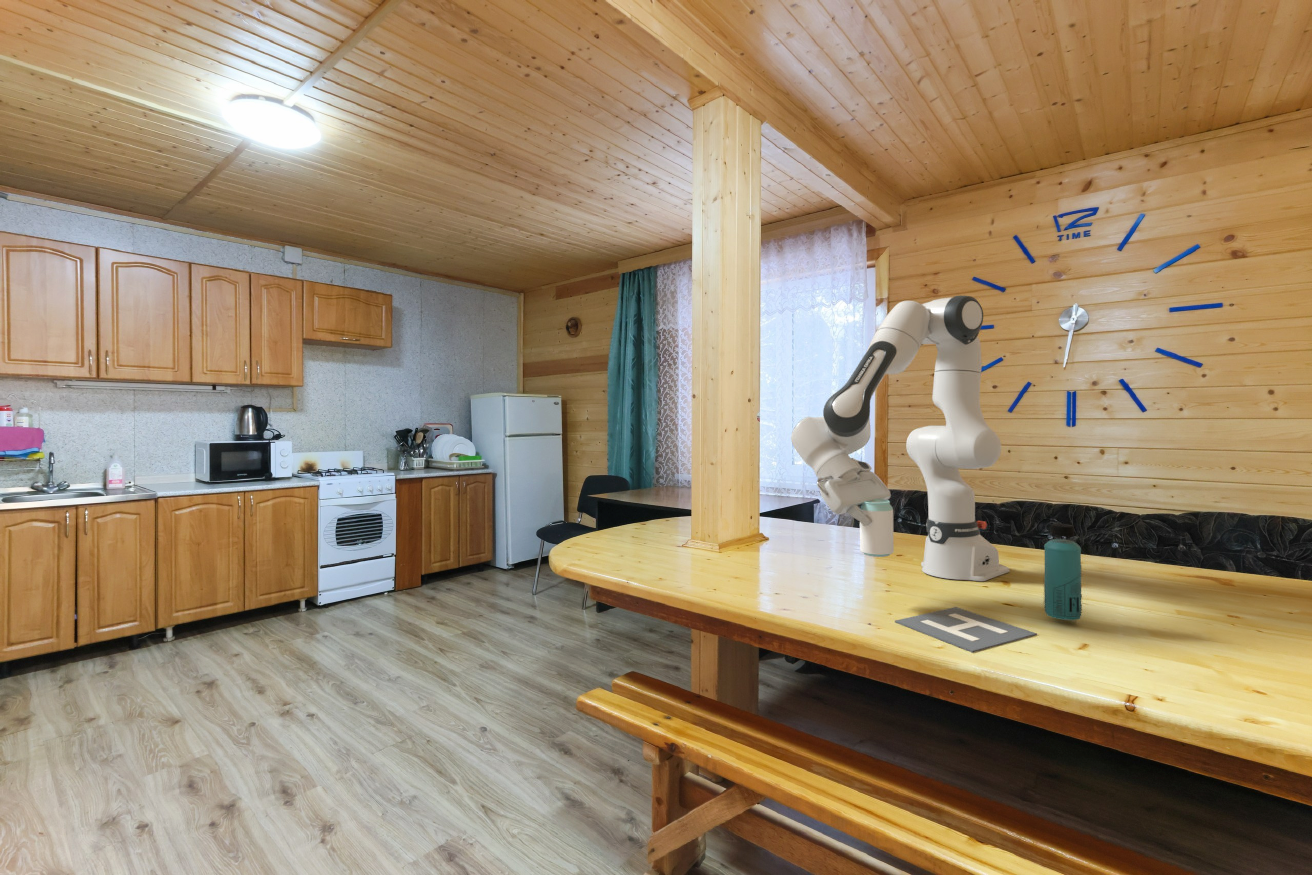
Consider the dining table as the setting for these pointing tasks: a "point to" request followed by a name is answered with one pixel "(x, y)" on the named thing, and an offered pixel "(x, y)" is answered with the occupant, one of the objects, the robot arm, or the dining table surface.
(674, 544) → the dining table surface
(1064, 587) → the beverage bottle
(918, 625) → the letter mat
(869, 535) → the can
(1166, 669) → the dining table surface
